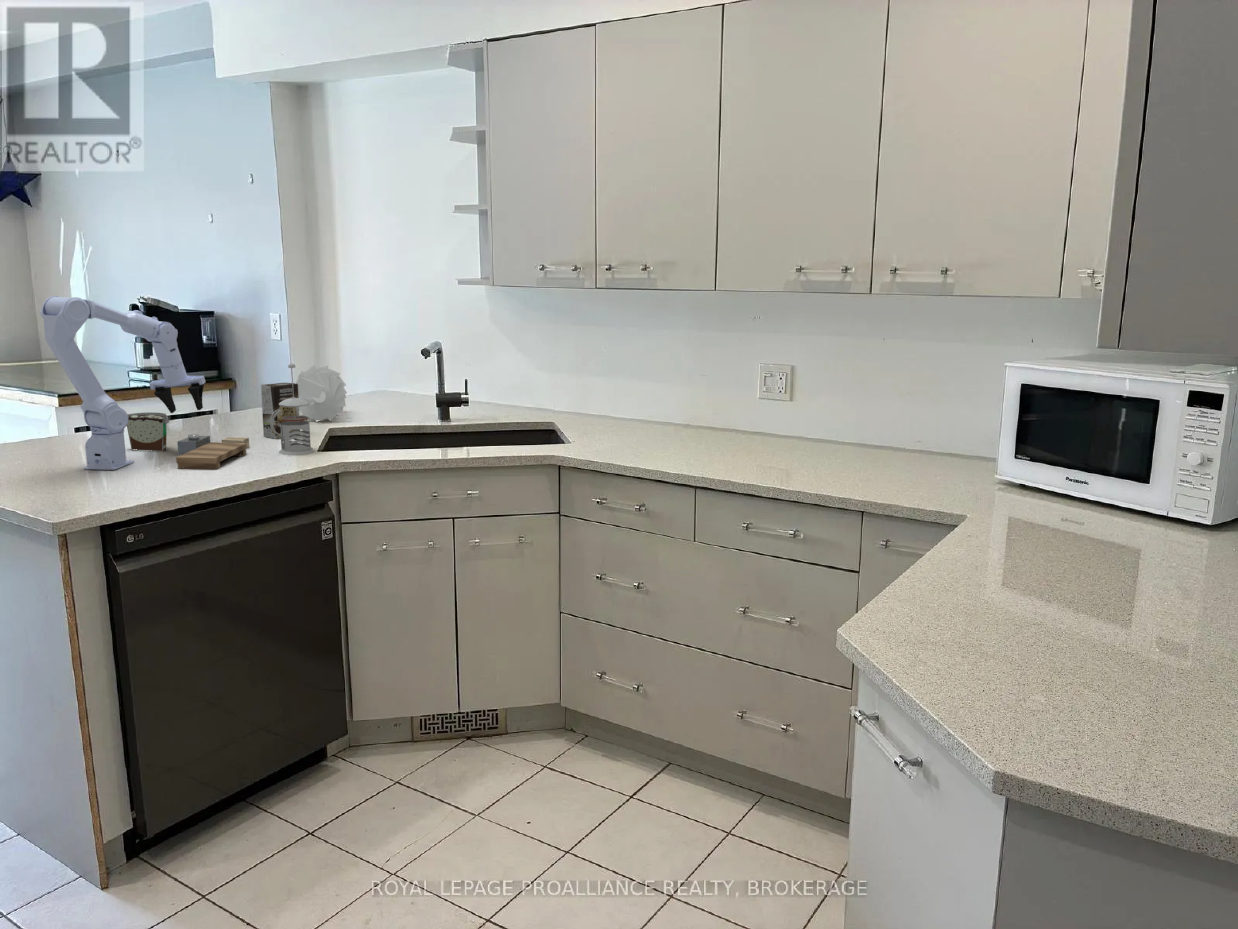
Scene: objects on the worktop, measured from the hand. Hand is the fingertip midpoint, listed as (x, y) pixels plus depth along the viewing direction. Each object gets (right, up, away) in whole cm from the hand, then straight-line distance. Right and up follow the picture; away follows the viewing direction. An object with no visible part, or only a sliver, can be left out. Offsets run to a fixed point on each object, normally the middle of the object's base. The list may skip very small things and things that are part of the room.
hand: (186, 410), depth 250 cm
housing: (+2, -12, +1) cm, 12 cm away
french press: (+28, -12, +5) cm, 31 cm away
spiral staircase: (+18, +1, +60) cm, 63 cm away
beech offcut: (+11, -11, +7) cm, 17 cm away
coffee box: (+17, -6, +27) cm, 32 cm away
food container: (-11, -11, +4) cm, 16 cm away
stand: (+12, -14, -9) cm, 21 cm away
